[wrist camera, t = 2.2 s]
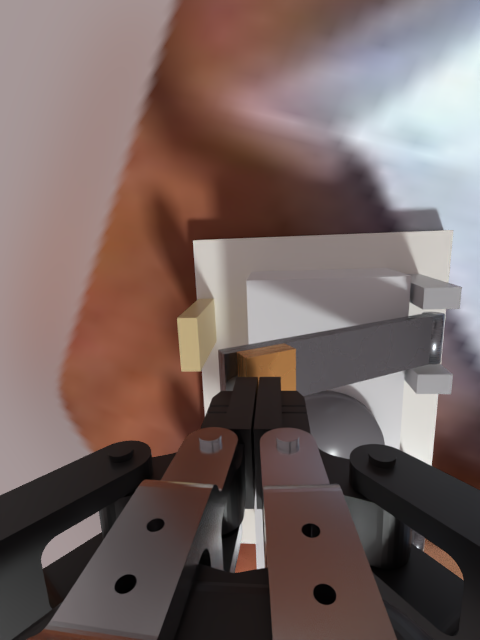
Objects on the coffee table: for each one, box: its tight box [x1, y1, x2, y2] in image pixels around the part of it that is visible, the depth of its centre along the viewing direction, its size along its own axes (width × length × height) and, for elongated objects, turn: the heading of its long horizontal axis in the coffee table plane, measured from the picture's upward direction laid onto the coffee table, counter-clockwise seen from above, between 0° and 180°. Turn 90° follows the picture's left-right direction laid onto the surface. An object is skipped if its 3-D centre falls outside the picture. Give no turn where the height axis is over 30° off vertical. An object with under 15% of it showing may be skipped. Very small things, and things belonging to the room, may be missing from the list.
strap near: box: [218, 312, 445, 396], centre depth 16 cm, size 2×12×2 cm, turn 92°
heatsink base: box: [177, 230, 462, 569], centre depth 22 cm, size 22×15×6 cm
